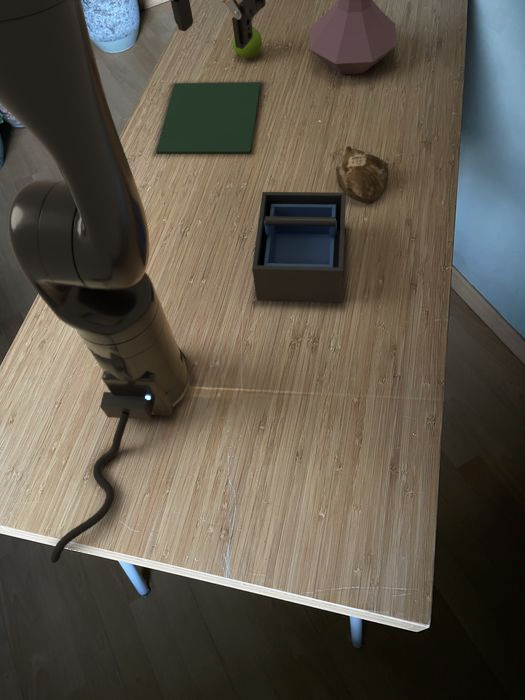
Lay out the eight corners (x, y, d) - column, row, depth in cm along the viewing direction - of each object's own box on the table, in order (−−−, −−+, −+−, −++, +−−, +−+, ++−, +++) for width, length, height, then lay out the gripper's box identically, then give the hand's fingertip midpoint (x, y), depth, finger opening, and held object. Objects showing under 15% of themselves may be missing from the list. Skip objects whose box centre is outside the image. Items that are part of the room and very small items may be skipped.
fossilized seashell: (340, 145, 93) (321, 196, 90) (362, 123, 87) (342, 177, 84) (379, 168, 95) (362, 220, 92) (403, 148, 89) (385, 203, 86)
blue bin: (334, 294, 81) (335, 252, 73) (265, 292, 82) (259, 250, 74) (336, 233, 87) (338, 187, 79) (272, 232, 88) (267, 187, 80)
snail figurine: (271, 48, 112) (266, -18, 101) (252, 67, 109) (245, 1, 99) (247, 41, 114) (240, -25, 103) (228, 59, 111) (219, -6, 101)
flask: (326, 25, 114) (327, -94, 97) (409, 41, 109) (425, -82, 92) (292, 77, 107) (287, -42, 90) (379, 95, 102) (391, -26, 85)
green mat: (250, 153, 98) (250, 151, 97) (156, 153, 99) (155, 151, 99) (261, 84, 107) (260, 81, 106) (174, 85, 108) (174, 83, 108)
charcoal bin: (341, 305, 81) (343, 271, 74) (257, 302, 82) (251, 268, 76) (344, 229, 88) (346, 192, 81) (266, 228, 89) (262, 191, 82)
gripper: (110, -118, 59) (150, 38, 73) (227, -94, 54) (246, 68, 68) (156, -149, 62) (186, 7, 76) (270, -129, 57) (280, 34, 71)
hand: (214, 36), depth 72 cm, fingers open, 8 cm apart
